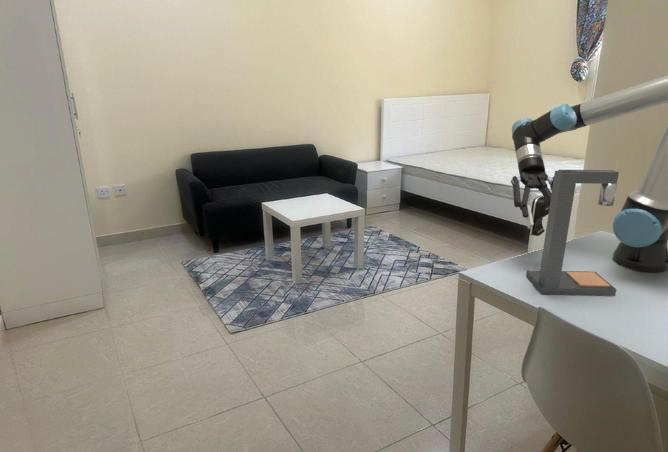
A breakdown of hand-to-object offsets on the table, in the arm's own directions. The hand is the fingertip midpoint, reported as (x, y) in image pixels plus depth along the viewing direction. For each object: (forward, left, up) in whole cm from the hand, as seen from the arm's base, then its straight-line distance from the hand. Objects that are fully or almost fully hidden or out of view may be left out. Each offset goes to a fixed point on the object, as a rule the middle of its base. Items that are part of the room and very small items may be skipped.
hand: (543, 226), depth 136 cm
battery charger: (0, -4, -4) cm, 5 cm away
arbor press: (-6, +9, -15) cm, 18 cm away
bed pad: (-11, +9, -13) cm, 19 cm away
